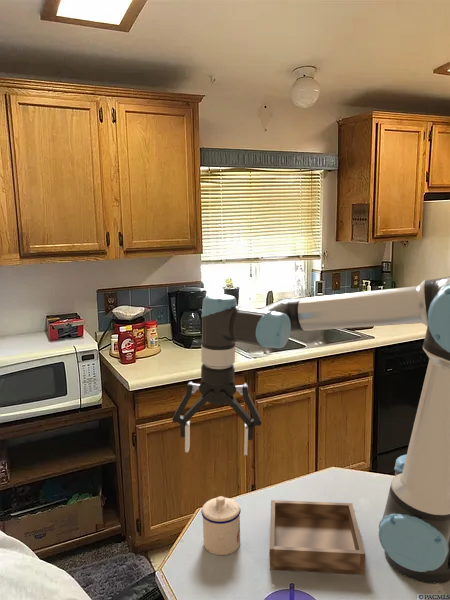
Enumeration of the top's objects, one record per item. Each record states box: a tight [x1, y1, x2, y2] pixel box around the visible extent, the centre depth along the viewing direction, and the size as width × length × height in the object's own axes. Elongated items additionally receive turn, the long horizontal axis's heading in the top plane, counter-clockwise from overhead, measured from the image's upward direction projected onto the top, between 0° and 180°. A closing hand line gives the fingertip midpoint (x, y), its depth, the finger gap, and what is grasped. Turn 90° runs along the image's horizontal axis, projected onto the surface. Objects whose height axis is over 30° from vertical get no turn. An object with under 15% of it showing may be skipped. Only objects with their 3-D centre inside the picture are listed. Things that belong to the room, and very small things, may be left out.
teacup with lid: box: [201, 495, 242, 556], centre depth 111 cm, size 12×9×12 cm
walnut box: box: [269, 499, 366, 576], centre depth 109 cm, size 20×18×5 cm
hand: (216, 450), depth 109 cm, fingers open, 13 cm apart
